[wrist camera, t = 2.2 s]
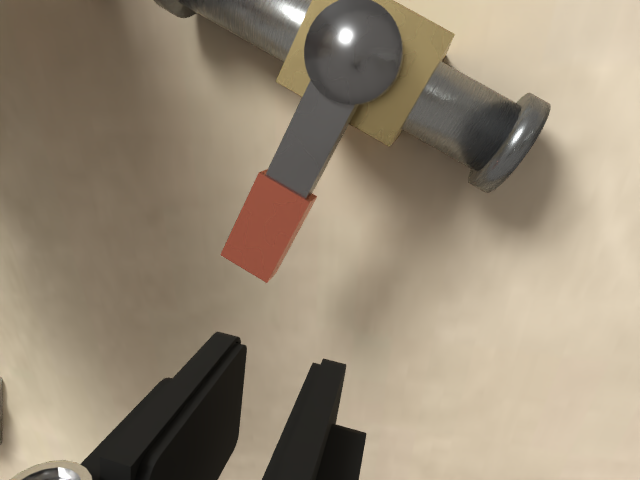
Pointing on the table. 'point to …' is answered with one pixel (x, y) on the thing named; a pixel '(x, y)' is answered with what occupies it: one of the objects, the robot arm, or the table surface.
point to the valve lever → (316, 127)
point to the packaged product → (1, 409)
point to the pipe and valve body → (397, 84)
